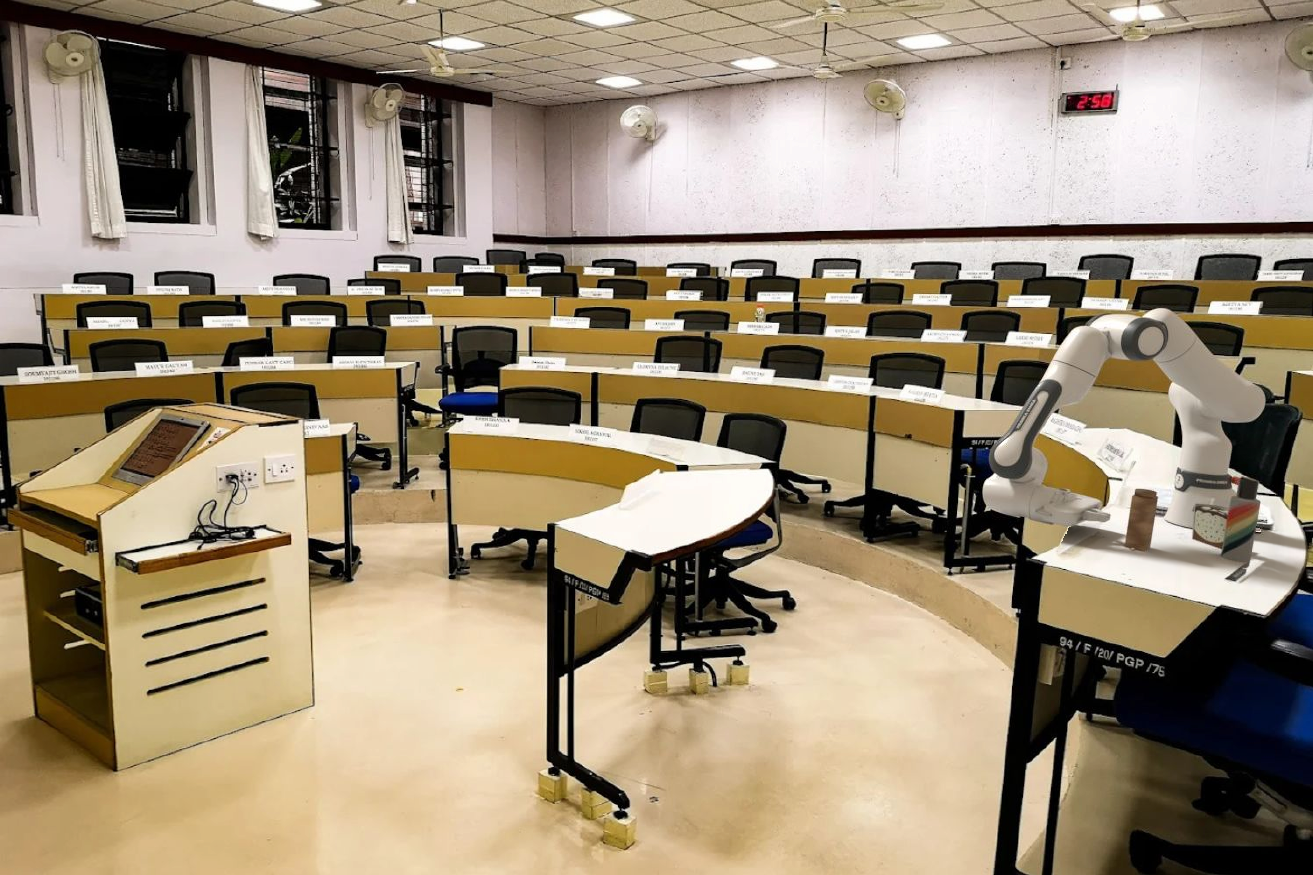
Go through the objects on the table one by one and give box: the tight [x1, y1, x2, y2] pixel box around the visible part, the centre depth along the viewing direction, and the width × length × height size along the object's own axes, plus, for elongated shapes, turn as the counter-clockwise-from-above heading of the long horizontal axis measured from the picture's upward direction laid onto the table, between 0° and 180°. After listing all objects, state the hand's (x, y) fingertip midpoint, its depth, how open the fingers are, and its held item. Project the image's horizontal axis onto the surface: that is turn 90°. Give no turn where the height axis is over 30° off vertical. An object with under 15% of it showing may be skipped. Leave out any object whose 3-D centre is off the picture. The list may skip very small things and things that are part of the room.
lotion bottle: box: [1220, 475, 1261, 569], centre depth 210 cm, size 6×6×20 cm
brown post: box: [1124, 488, 1159, 552], centre depth 215 cm, size 4×8×13 cm, turn 136°
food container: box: [1191, 504, 1229, 550], centre depth 222 cm, size 12×6×10 cm, turn 17°
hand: (1108, 518), depth 220 cm, fingers closed
